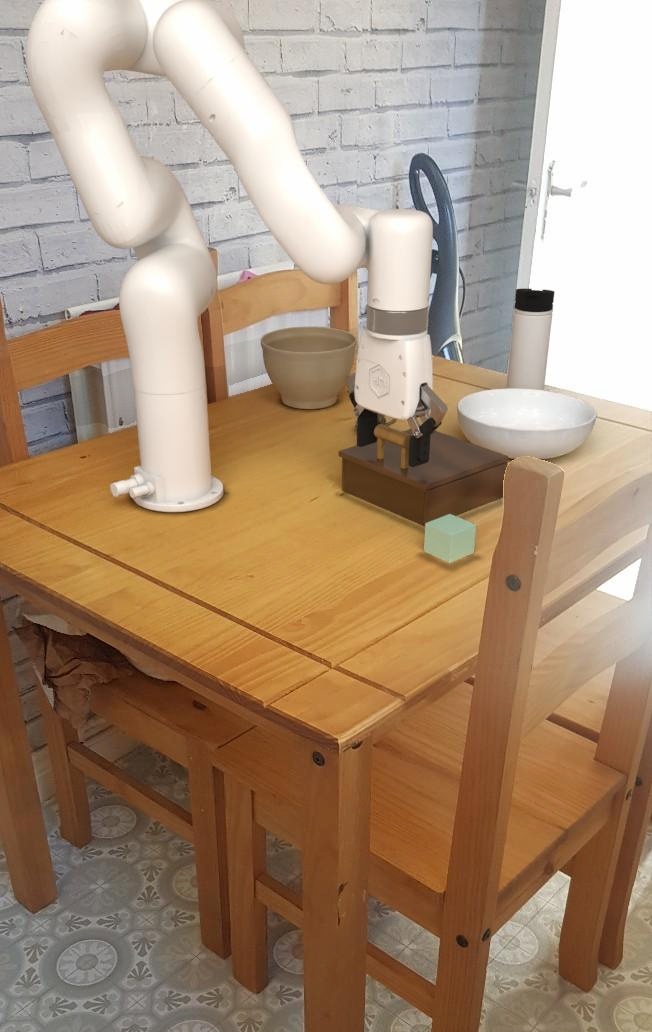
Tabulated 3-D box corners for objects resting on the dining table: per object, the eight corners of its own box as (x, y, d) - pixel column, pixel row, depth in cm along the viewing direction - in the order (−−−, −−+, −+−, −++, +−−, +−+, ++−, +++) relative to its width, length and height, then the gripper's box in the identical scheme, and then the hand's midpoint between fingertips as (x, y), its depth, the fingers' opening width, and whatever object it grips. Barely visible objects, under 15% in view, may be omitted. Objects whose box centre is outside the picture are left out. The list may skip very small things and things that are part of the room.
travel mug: (501, 413, 175) (513, 289, 164) (507, 401, 180) (518, 281, 169) (538, 416, 173) (552, 292, 162) (543, 404, 178) (557, 283, 168)
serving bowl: (620, 460, 156) (627, 416, 152) (507, 485, 147) (512, 438, 144) (534, 421, 171) (538, 379, 168) (427, 441, 163) (430, 398, 159)
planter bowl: (244, 400, 181) (241, 336, 175) (315, 382, 189) (315, 321, 184) (301, 423, 170) (301, 356, 164) (374, 403, 179) (376, 339, 173)
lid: (424, 491, 130) (427, 449, 128) (338, 456, 141) (338, 417, 138) (508, 461, 140) (512, 422, 137) (420, 430, 150) (422, 394, 147)
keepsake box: (426, 532, 134) (428, 490, 131) (341, 495, 144) (342, 456, 141) (504, 501, 143) (508, 461, 140) (418, 468, 153) (420, 431, 150)
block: (449, 567, 125) (451, 534, 123) (423, 555, 128) (425, 523, 126) (473, 557, 128) (476, 524, 125) (447, 545, 130) (449, 513, 128)
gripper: (327, 312, 130) (327, 443, 139) (426, 339, 119) (419, 479, 128) (371, 303, 134) (367, 431, 143) (470, 328, 123) (460, 465, 132)
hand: (392, 454), depth 136 cm, fingers open, 9 cm apart
